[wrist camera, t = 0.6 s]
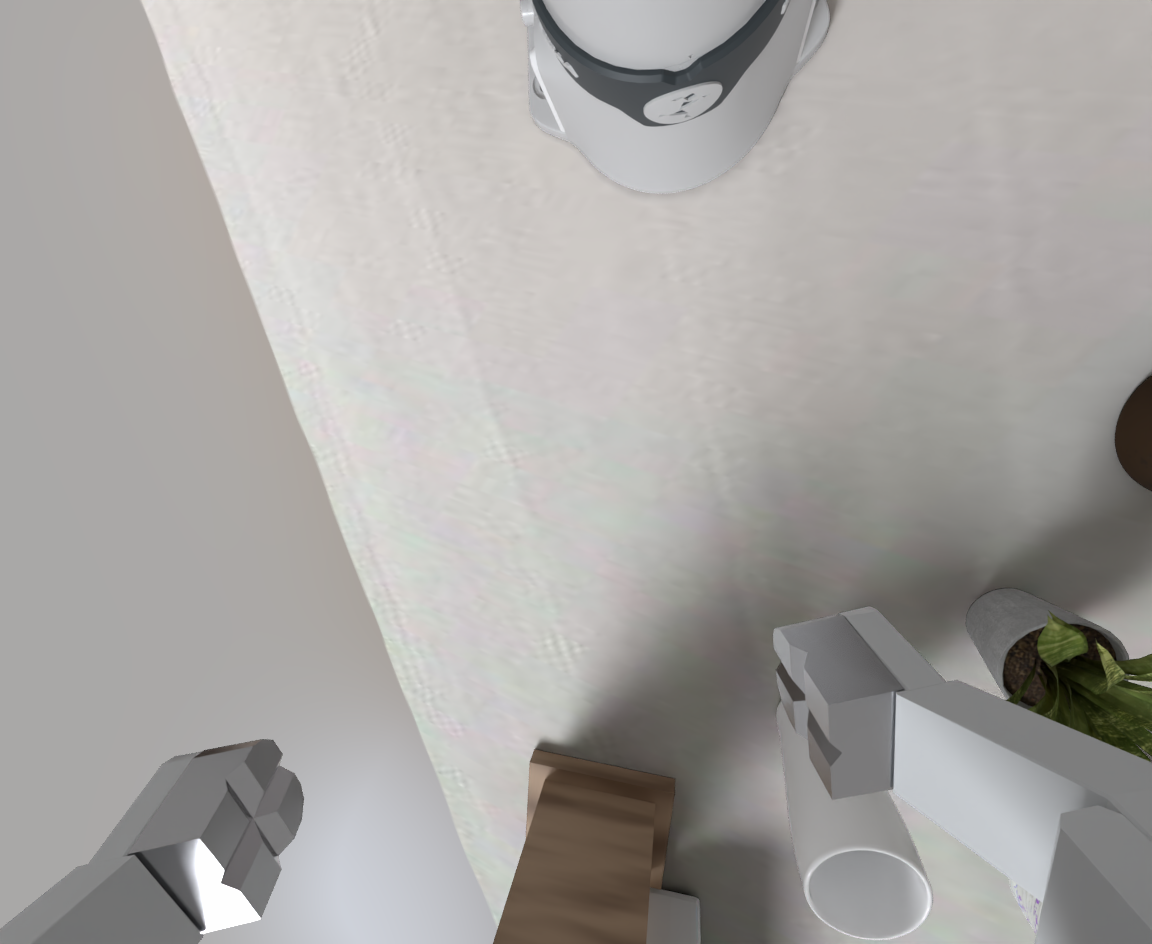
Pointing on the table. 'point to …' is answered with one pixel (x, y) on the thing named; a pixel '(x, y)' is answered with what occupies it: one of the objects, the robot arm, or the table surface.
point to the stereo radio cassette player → (673, 918)
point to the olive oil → (1136, 435)
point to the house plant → (1064, 668)
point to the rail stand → (588, 854)
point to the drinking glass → (851, 851)
